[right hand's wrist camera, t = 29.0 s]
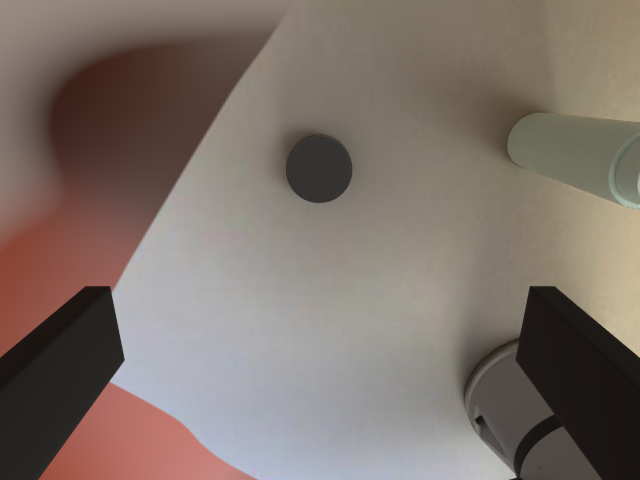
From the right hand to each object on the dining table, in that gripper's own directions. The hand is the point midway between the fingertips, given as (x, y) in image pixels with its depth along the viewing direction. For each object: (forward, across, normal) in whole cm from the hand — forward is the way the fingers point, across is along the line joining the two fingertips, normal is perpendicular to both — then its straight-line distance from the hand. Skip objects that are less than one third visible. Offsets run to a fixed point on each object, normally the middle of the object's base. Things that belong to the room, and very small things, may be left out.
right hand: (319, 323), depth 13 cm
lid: (+25, 0, 0) cm, 25 cm away
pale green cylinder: (+26, +19, +3) cm, 33 cm away
